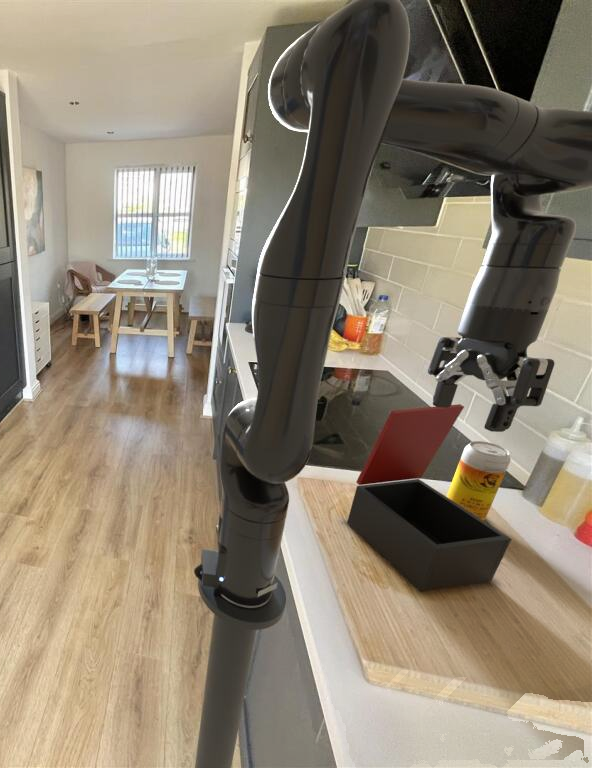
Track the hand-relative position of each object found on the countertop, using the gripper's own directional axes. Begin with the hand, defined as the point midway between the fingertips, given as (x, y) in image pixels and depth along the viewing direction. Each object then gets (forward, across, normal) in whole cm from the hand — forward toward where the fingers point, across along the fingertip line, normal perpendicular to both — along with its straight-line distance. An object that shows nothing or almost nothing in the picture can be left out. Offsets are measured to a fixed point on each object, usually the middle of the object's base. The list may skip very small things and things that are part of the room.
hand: (465, 417), depth 57 cm
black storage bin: (+28, -5, +4) cm, 28 cm away
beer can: (+26, -14, +20) cm, 36 cm away
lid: (+10, -10, +2) cm, 14 cm away
